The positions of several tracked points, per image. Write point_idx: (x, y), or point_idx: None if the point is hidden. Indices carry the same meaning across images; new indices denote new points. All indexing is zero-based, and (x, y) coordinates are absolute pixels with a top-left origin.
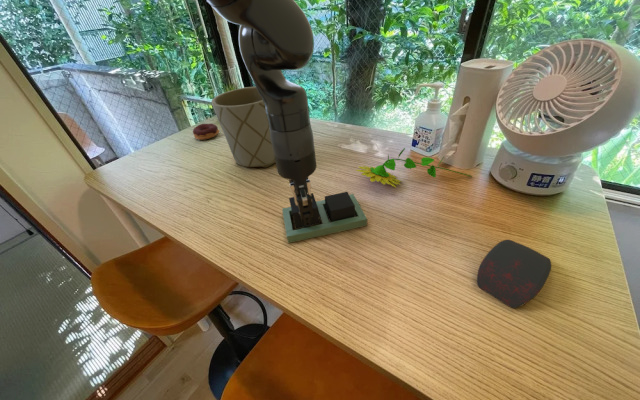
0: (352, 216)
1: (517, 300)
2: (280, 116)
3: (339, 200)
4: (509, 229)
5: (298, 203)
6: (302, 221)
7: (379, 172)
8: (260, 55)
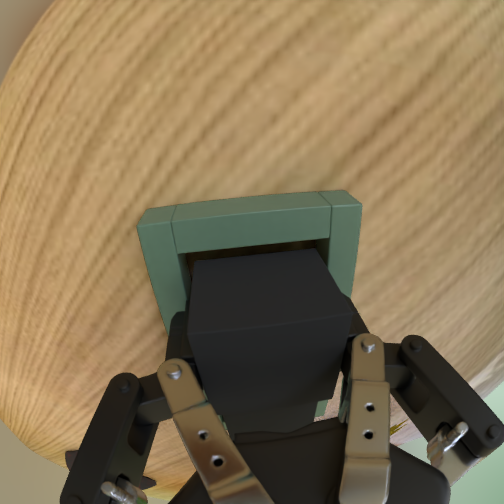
0: None
1: (67, 461)
2: None
3: (273, 427)
4: (178, 485)
5: (73, 486)
6: (183, 326)
7: None
8: None
